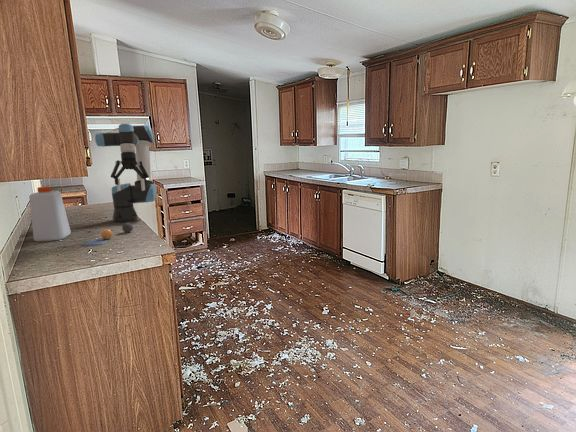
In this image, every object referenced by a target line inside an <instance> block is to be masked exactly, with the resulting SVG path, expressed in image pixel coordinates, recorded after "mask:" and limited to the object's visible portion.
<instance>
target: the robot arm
mask: <svg viewBox="0 0 576 432" xmlns="http://www.w3.org/2000/svg"><path fill="white" fill-rule="evenodd" d="M94 136H95V137H94V140H95V144H96V146H97V147H102V148H104V147H120V158H121V160H120V159H118V160H116V161H115V163H114V164H115V166H114V167H113V170H112V172H111V174H110V178H113V180H114V184H115V185H114V186H112V187H111V196H112V205H113V213H112V217H111V218H112V222H113V223H114V222H115V223H123V222H125V223H127V222H131V221H135V220H137V219H139V217H138V214H137V211H136V209H135V207H134V204H142V203H143V204H144V203H147V204H148V203H152V202H155V200H156V198H157V185H156V184H155V183H154V181H153V180H152V175H151V174H152V172H151V171H152V170H151V157H150V156H151V152H150V148H151V147H152V146H153V145H152V144H153V143H155V140H154V133H153V130H152V128H151V126H150V125H148V124H147V125H145V124H144V125H143V124H142V125H133V124H131V123H121V124H119V125H118V127H116V128H114V129H113V130H111V131H106V132H99V133H96V134H95V135H94ZM120 165H122V166H121V167H120ZM119 167H120V169H119ZM118 169H119V171H118ZM125 170H133V171H135V172H136V180H135V181H134V185H131V183H121V178H120V176H121V175H122V173H123V172H124V171H125Z"/></svg>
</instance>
